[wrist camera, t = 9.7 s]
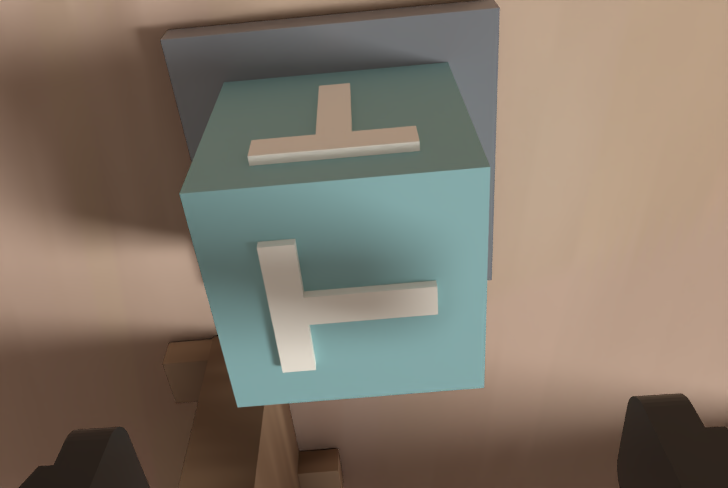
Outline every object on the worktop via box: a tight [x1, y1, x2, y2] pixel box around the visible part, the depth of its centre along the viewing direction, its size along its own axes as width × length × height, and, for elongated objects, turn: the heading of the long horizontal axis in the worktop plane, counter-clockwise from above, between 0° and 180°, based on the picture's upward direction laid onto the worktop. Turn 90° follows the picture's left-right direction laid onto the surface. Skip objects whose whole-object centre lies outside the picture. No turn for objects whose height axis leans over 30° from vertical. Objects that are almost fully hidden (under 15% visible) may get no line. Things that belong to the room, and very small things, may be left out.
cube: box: [179, 62, 490, 407], centre depth 15 cm, size 6×6×6 cm
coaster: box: [160, 0, 500, 280], centre depth 18 cm, size 8×8×1 cm
